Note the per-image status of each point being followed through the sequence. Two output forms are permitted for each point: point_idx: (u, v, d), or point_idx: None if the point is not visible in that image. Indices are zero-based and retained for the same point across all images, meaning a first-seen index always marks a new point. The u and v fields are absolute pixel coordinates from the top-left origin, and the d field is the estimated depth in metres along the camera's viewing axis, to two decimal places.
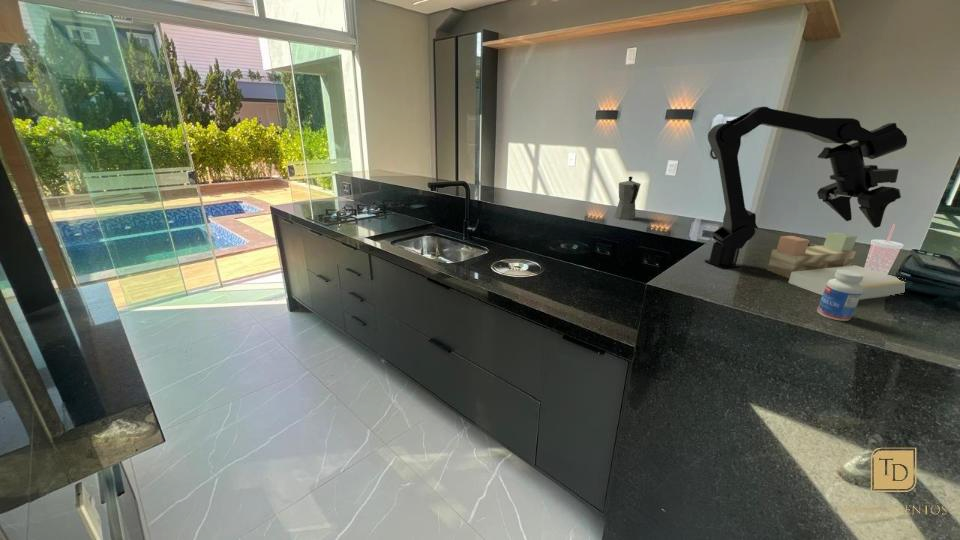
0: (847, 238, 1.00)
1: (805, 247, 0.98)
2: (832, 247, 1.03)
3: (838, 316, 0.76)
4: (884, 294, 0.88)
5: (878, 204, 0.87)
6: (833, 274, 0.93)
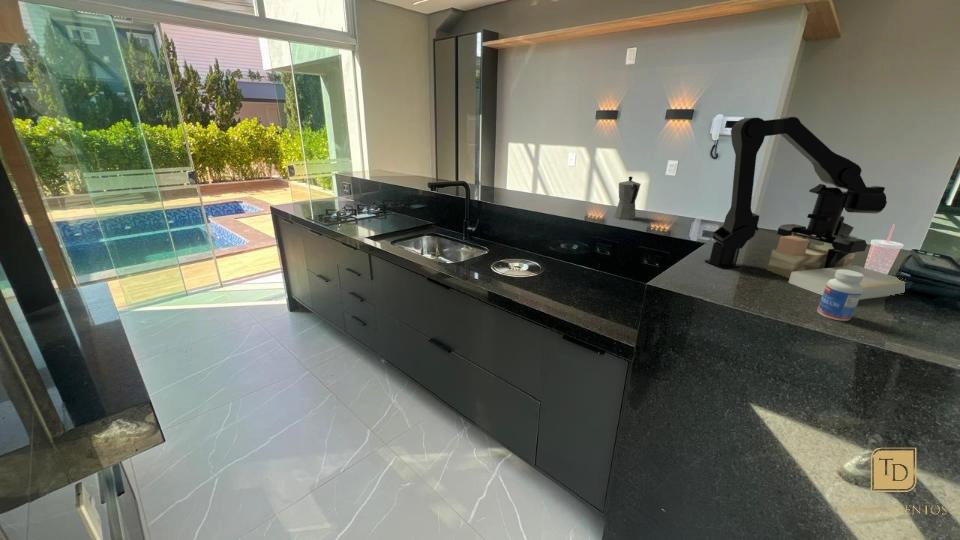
0: None
1: (805, 247, 0.98)
2: (832, 247, 1.03)
3: (838, 316, 0.76)
4: (884, 294, 0.88)
5: (852, 251, 0.92)
6: (833, 274, 0.93)
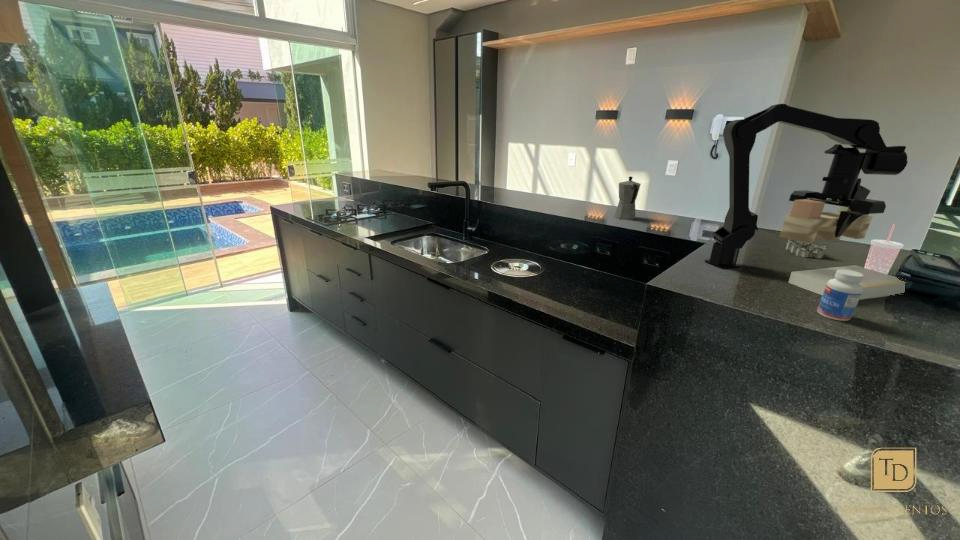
0: None
1: (821, 210, 0.93)
2: None
3: (838, 316, 0.76)
4: (884, 294, 0.88)
5: (871, 212, 0.88)
6: (833, 274, 0.93)
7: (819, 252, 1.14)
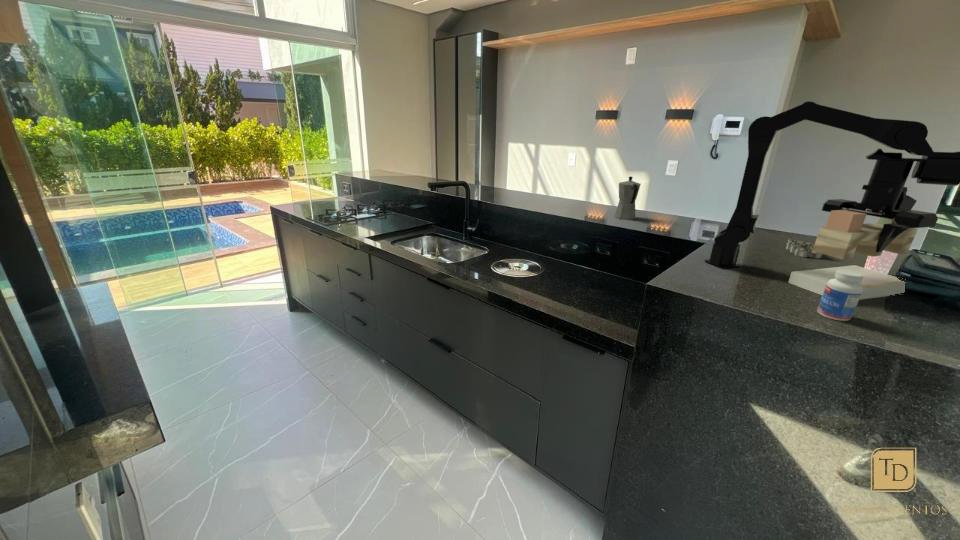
0: None
1: (861, 222, 0.83)
2: None
3: (838, 316, 0.76)
4: (884, 294, 0.88)
5: (921, 226, 0.78)
6: (833, 274, 0.93)
7: (818, 252, 1.14)
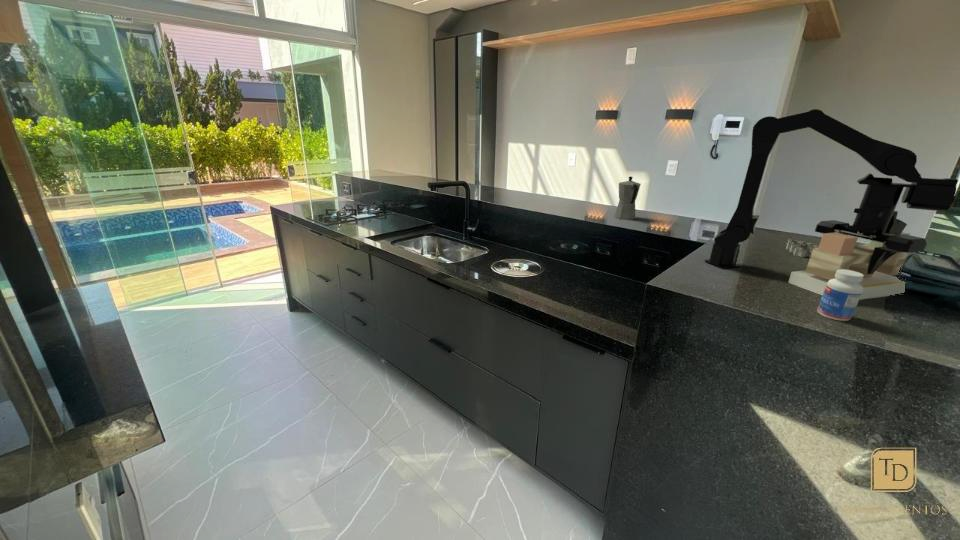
0: None
1: (853, 246, 0.85)
2: (880, 246, 0.91)
3: (838, 316, 0.76)
4: (884, 294, 0.88)
5: (910, 250, 0.80)
6: None
7: None
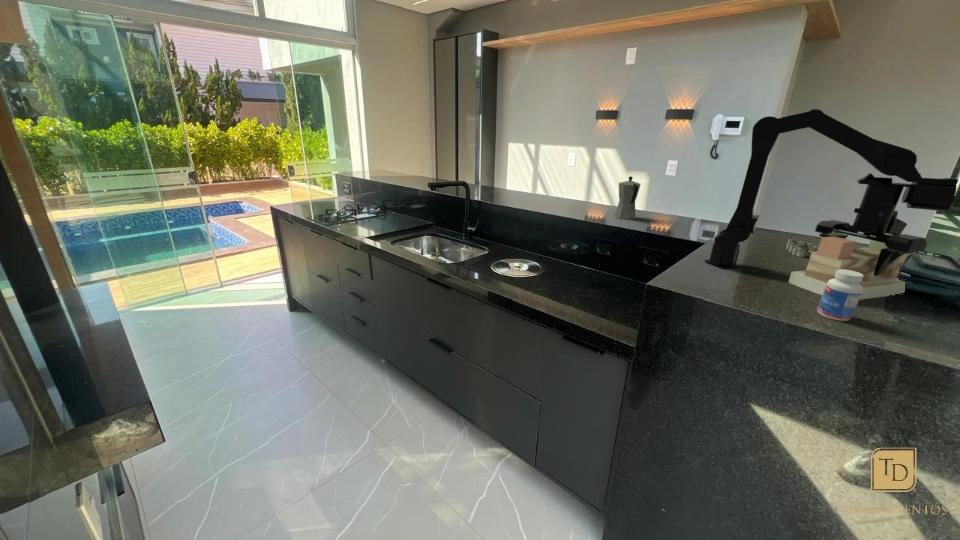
0: None
1: (851, 249, 0.85)
2: (879, 249, 0.91)
3: (838, 316, 0.76)
4: (884, 294, 0.88)
5: (911, 250, 0.80)
6: None
7: None
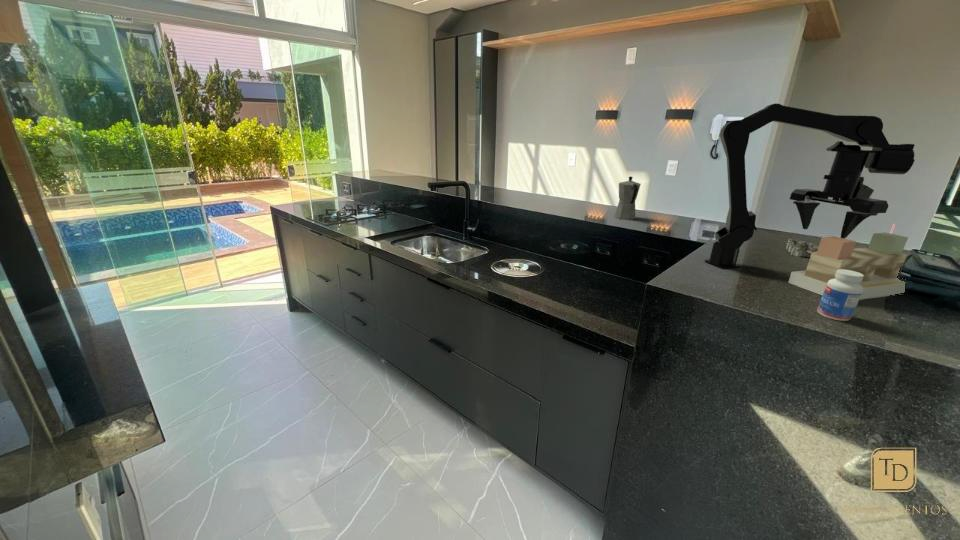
0: (897, 239, 0.88)
1: (851, 249, 0.85)
2: (879, 249, 0.91)
3: (838, 316, 0.76)
4: (884, 294, 0.88)
5: (872, 211, 0.85)
6: None
7: None
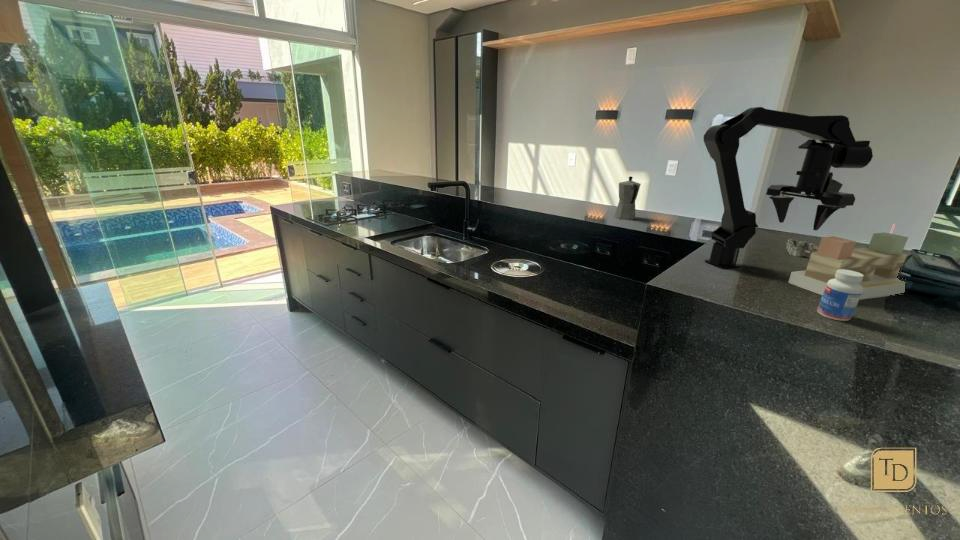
0: (897, 239, 0.88)
1: (851, 249, 0.85)
2: (879, 249, 0.91)
3: (838, 316, 0.76)
4: (884, 294, 0.88)
5: (840, 204, 0.91)
6: None
7: (811, 252, 1.14)
